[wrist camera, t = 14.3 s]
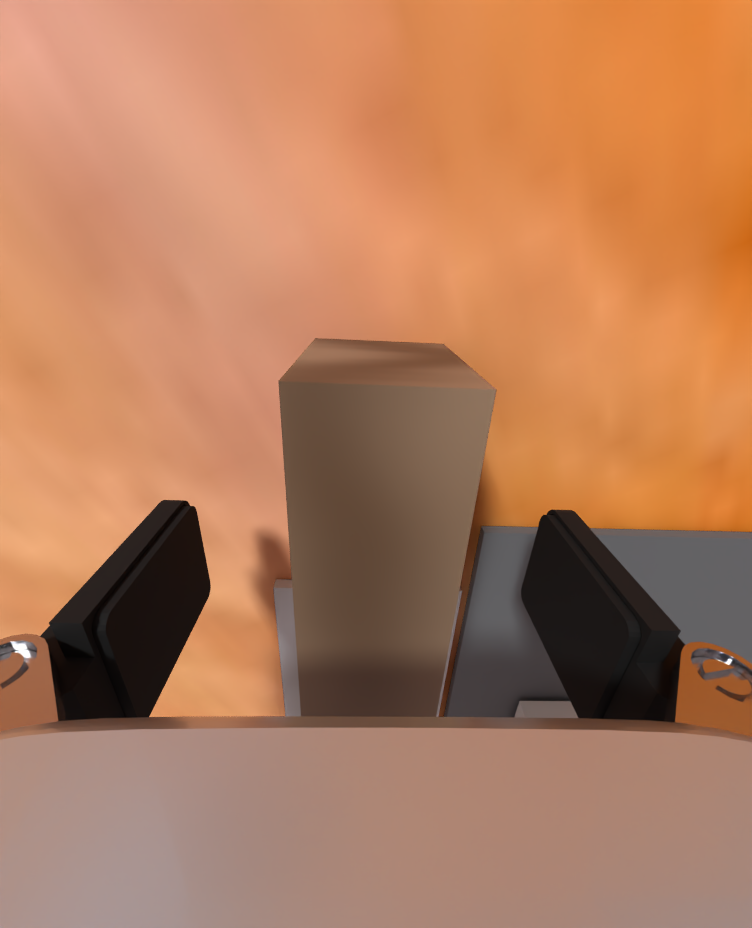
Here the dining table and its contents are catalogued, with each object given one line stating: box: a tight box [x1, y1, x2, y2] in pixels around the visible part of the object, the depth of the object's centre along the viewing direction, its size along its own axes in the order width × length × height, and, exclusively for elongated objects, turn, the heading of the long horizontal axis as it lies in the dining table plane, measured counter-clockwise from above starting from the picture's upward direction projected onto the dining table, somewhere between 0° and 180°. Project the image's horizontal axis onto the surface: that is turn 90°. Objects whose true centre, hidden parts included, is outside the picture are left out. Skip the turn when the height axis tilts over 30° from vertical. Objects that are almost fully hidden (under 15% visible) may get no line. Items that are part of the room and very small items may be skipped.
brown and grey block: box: [273, 338, 496, 717], centre depth 12 cm, size 7×17×5 cm, turn 177°
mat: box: [444, 526, 752, 718], centre depth 17 cm, size 14×16×1 cm
